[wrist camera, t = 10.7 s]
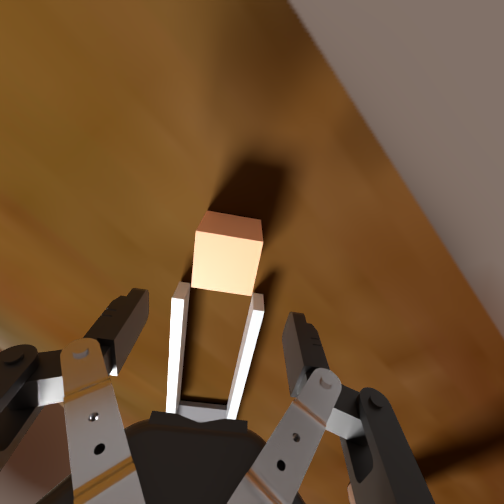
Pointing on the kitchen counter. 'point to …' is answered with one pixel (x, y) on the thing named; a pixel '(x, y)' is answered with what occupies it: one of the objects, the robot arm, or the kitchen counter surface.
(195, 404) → the tray
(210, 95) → the kitchen counter surface
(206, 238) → the block
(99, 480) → the robot arm
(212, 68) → the kitchen counter surface
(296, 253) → the kitchen counter surface
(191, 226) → the kitchen counter surface
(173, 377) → the channel
